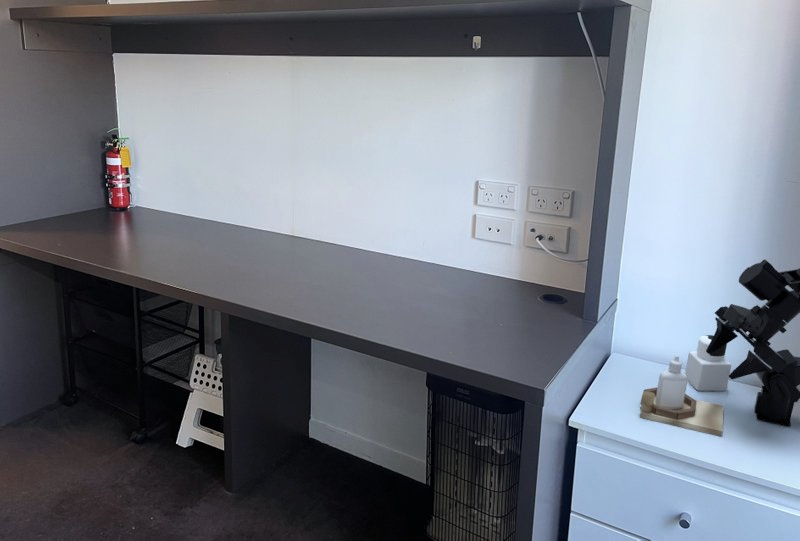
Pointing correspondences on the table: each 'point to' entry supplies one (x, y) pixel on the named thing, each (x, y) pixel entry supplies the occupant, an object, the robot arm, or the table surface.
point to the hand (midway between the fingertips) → (718, 365)
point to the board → (699, 421)
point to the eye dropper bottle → (671, 386)
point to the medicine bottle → (708, 367)
